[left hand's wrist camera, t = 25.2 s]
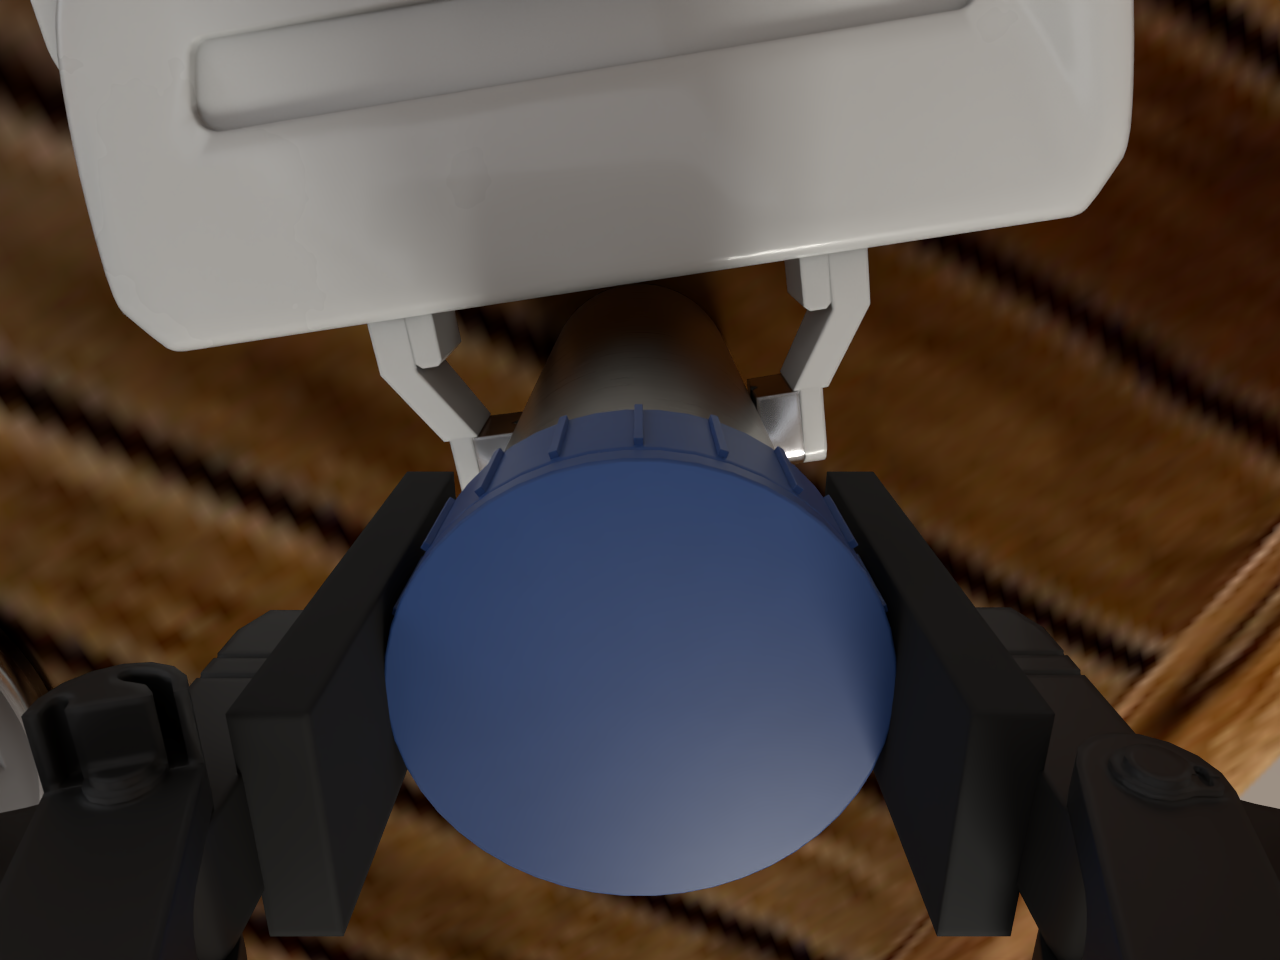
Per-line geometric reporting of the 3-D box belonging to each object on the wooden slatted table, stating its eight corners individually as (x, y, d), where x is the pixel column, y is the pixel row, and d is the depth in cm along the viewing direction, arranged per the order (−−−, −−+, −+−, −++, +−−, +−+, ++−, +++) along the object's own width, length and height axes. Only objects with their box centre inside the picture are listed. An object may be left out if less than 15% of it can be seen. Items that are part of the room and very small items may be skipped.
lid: (357, 699, 13) (307, 794, 11) (529, 321, 11) (505, 355, 9) (727, 847, 14) (741, 959, 12) (947, 526, 12) (1006, 597, 10)
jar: (523, 414, 27) (373, 741, 12) (595, 251, 25) (528, 387, 10) (680, 484, 27) (729, 873, 12) (760, 331, 26) (929, 569, 11)
